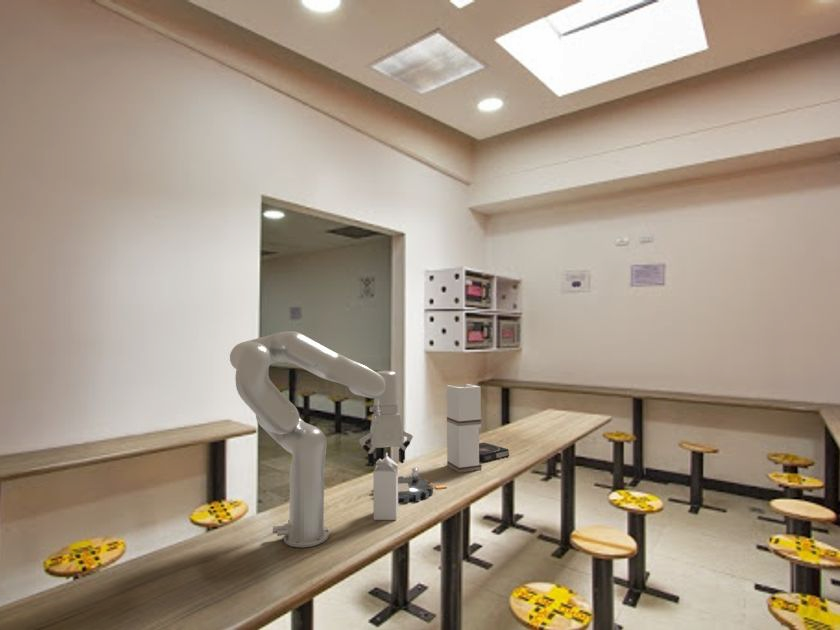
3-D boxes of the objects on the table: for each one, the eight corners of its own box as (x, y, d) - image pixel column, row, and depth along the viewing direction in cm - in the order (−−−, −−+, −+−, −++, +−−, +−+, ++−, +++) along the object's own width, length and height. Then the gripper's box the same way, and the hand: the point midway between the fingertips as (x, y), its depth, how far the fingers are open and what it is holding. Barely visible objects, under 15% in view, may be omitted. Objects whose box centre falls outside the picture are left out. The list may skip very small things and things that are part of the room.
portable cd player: (483, 464, 202) (483, 455, 202) (458, 455, 216) (458, 447, 216) (509, 458, 212) (509, 449, 212) (483, 450, 225) (483, 442, 226)
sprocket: (360, 493, 164) (360, 475, 164) (400, 478, 181) (399, 461, 181) (407, 507, 150) (407, 487, 150) (445, 489, 167) (444, 471, 168)
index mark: (436, 489, 168) (436, 487, 168) (434, 487, 170) (434, 486, 170) (446, 488, 170) (446, 486, 170) (444, 486, 171) (444, 485, 171)
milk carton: (398, 511, 147) (397, 452, 148) (396, 520, 140) (396, 458, 141) (376, 511, 148) (376, 452, 149) (373, 520, 141) (373, 458, 141)
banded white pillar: (481, 469, 192) (480, 386, 194) (459, 472, 188) (458, 387, 190) (468, 462, 203) (467, 384, 204) (447, 465, 199) (446, 385, 200)
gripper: (361, 413, 139) (361, 470, 139) (415, 409, 145) (416, 464, 144) (357, 409, 146) (357, 463, 146) (408, 406, 152) (409, 457, 151)
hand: (386, 463), depth 145 cm, fingers open, 9 cm apart
